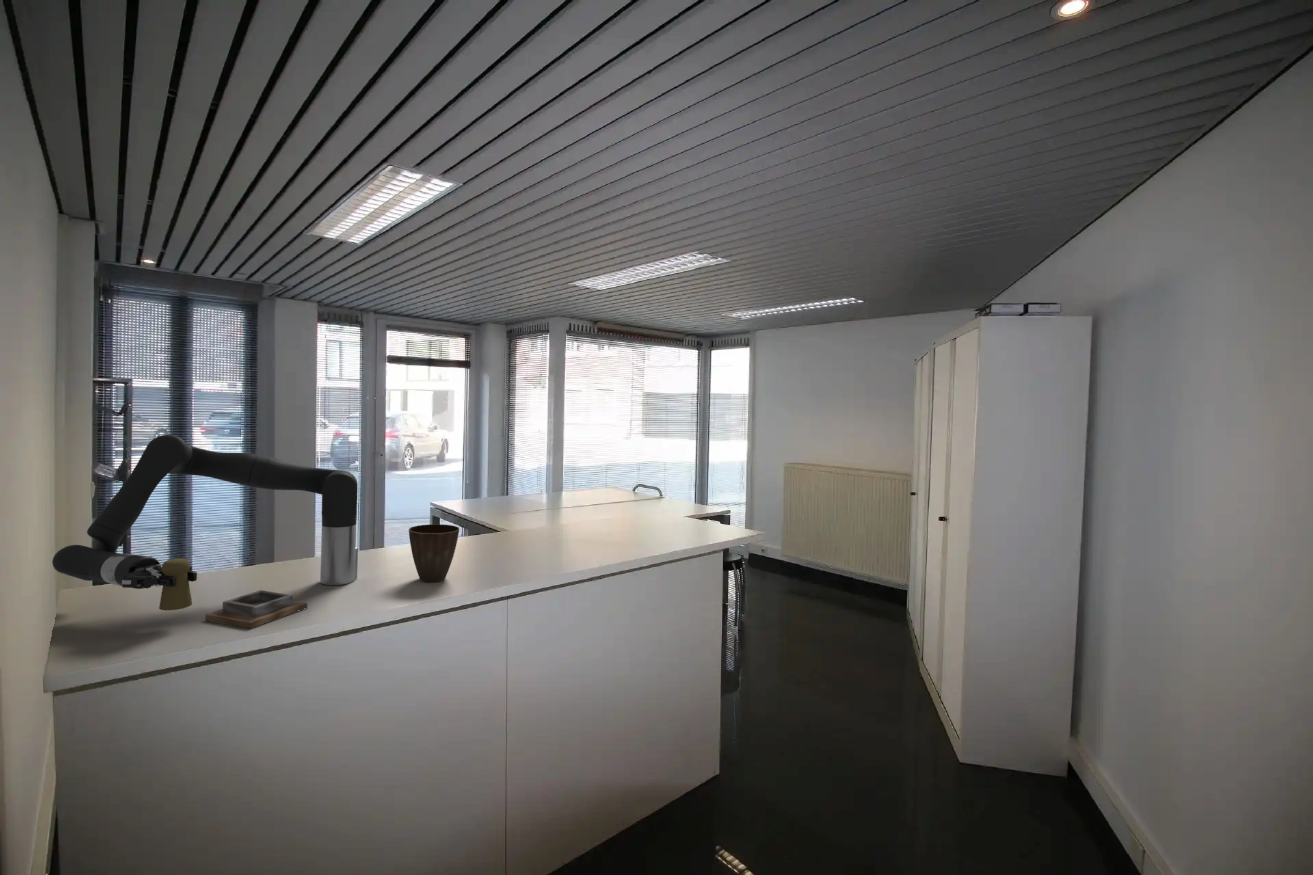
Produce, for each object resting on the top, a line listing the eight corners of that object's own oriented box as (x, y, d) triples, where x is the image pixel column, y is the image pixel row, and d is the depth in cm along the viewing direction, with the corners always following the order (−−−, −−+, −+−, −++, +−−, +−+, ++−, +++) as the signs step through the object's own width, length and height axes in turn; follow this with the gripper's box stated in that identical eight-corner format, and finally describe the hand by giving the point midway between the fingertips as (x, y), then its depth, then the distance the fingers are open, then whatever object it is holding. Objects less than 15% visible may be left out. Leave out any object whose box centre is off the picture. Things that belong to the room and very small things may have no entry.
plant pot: (404, 574, 192) (406, 524, 191) (453, 570, 199) (455, 523, 198) (409, 587, 179) (411, 534, 178) (461, 583, 186) (463, 532, 185)
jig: (264, 601, 161) (264, 586, 161) (306, 608, 157) (307, 593, 157) (205, 620, 146) (205, 604, 145) (250, 628, 142) (251, 612, 142)
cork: (198, 602, 144) (198, 556, 143) (179, 610, 137) (179, 563, 137) (172, 601, 143) (172, 555, 143) (152, 609, 137) (152, 562, 137)
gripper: (96, 562, 137) (152, 571, 132) (162, 548, 150) (215, 556, 146) (96, 594, 137) (152, 604, 133) (162, 578, 151) (215, 586, 146)
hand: (184, 579), depth 139 cm, fingers closed on cork, 4 cm apart
